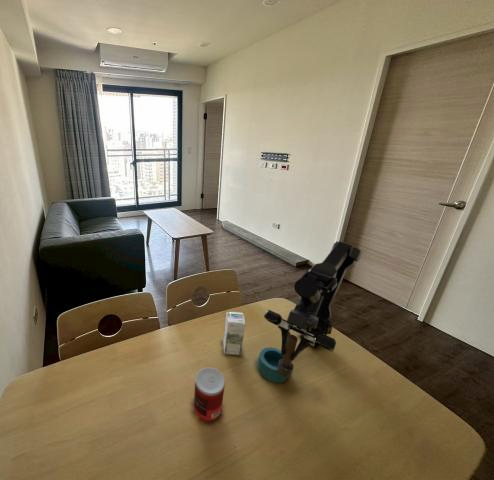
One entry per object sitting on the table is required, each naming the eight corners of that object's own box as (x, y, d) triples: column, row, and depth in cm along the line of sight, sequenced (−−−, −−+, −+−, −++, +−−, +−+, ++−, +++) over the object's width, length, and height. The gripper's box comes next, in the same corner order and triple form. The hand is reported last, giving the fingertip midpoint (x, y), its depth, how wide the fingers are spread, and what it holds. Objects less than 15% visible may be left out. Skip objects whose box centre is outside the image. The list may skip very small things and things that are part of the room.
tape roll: (270, 354, 88) (273, 343, 86) (293, 374, 80) (296, 363, 78) (251, 365, 83) (253, 353, 82) (273, 387, 76) (276, 375, 74)
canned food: (223, 399, 72) (226, 371, 68) (218, 427, 65) (222, 398, 61) (197, 391, 75) (199, 363, 70) (190, 417, 68) (191, 388, 63)
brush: (283, 363, 76) (291, 330, 71) (294, 373, 73) (303, 339, 68) (274, 369, 75) (281, 335, 70) (285, 380, 71) (294, 345, 66)
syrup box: (238, 343, 92) (243, 311, 87) (240, 356, 87) (245, 323, 81) (222, 342, 93) (226, 310, 87) (224, 355, 87) (227, 321, 82)
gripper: (271, 286, 74) (249, 336, 70) (344, 315, 62) (322, 376, 59) (277, 297, 82) (257, 342, 79) (343, 324, 70) (323, 378, 67)
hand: (286, 357), depth 70 cm, fingers closed on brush, 2 cm apart
